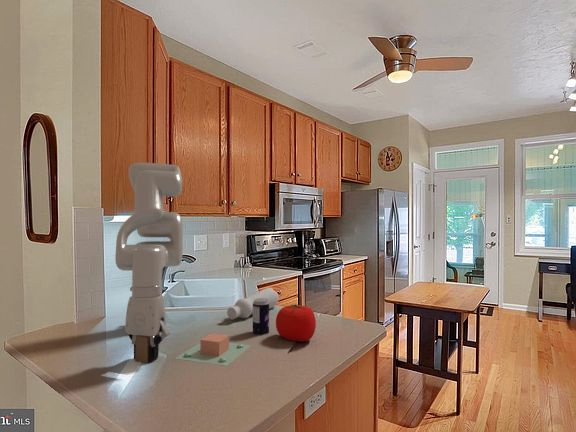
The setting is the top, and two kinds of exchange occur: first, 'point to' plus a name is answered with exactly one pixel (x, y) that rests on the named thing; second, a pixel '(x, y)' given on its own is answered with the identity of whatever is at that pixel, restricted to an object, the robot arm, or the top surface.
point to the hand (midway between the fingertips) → (146, 358)
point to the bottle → (245, 306)
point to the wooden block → (142, 349)
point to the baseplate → (223, 359)
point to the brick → (214, 344)
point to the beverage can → (261, 316)
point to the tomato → (296, 323)
